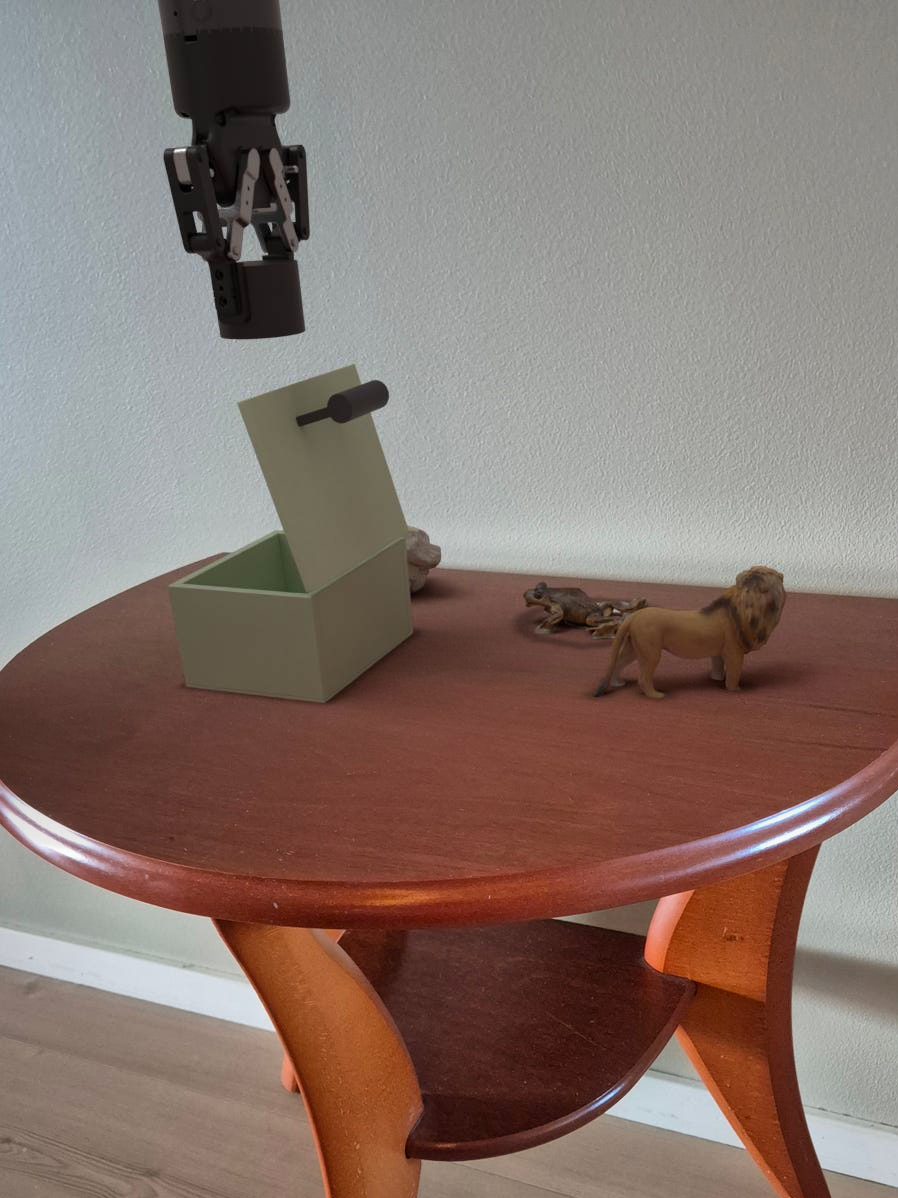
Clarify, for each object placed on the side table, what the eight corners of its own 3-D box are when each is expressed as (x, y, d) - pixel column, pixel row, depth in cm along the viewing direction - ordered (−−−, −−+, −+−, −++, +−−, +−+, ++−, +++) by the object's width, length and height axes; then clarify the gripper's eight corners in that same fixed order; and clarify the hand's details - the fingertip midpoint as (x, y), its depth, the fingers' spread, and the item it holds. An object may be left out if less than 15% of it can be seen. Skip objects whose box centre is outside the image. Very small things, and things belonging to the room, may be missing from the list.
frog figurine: (509, 652, 99) (507, 608, 97) (529, 605, 109) (528, 565, 107) (647, 654, 97) (648, 609, 95) (655, 606, 107) (656, 565, 105)
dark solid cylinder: (203, 339, 82) (192, 268, 80) (249, 328, 87) (240, 260, 85) (277, 339, 80) (268, 265, 78) (320, 328, 85) (313, 258, 83)
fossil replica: (357, 574, 121) (309, 613, 113) (339, 494, 116) (288, 529, 109) (464, 573, 116) (421, 614, 108) (450, 489, 111) (404, 525, 104)
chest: (187, 693, 94) (166, 585, 90) (288, 626, 107) (275, 529, 103) (325, 709, 90) (311, 597, 86) (414, 638, 103) (405, 537, 98)
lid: (236, 402, 80) (302, 380, 78) (346, 366, 93) (406, 345, 90) (306, 592, 86) (370, 577, 83) (401, 533, 98) (459, 518, 96)
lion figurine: (763, 667, 93) (771, 554, 88) (792, 692, 88) (802, 574, 84) (583, 691, 91) (582, 576, 86) (603, 717, 86) (604, 597, 82)
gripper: (234, 40, 82) (268, 306, 90) (102, 25, 70) (155, 331, 79) (329, 30, 79) (354, 305, 87) (208, 12, 68) (251, 330, 76)
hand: (260, 316), depth 83 cm, fingers closed on dark solid cylinder, 6 cm apart
